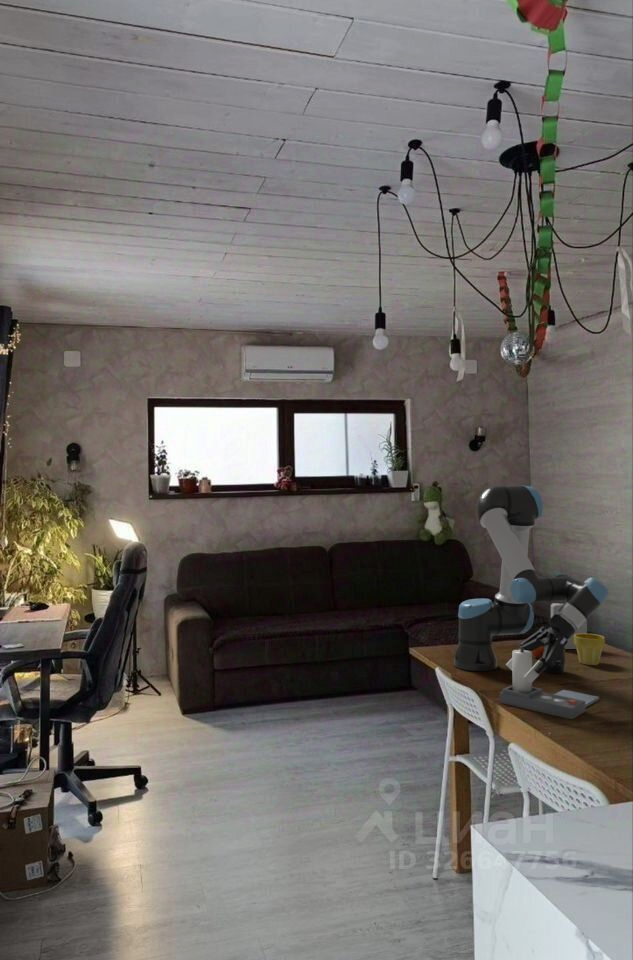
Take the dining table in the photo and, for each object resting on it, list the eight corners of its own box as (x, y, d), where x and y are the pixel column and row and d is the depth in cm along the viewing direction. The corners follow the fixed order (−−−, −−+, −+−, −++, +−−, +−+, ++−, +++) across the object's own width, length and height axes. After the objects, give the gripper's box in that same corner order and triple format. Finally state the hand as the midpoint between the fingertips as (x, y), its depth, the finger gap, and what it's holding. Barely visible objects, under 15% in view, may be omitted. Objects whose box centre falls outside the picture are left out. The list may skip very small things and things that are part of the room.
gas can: (590, 647, 279) (590, 584, 279) (593, 650, 274) (593, 586, 274) (550, 646, 281) (550, 583, 281) (553, 649, 276) (553, 585, 276)
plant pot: (597, 659, 260) (597, 632, 260) (609, 666, 250) (609, 639, 250) (569, 659, 260) (569, 633, 260) (581, 666, 249) (580, 639, 249)
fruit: (556, 658, 256) (544, 637, 258) (537, 666, 260) (525, 646, 262) (561, 653, 263) (549, 634, 265) (542, 662, 266) (531, 642, 269)
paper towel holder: (509, 692, 208) (508, 646, 208) (517, 688, 212) (517, 643, 212) (526, 696, 204) (526, 649, 204) (535, 692, 208) (535, 646, 208)
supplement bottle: (555, 675, 238) (554, 639, 238) (540, 670, 244) (539, 636, 244) (569, 672, 241) (569, 637, 241) (554, 668, 247) (554, 634, 247)
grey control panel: (499, 702, 208) (499, 689, 208) (513, 695, 215) (513, 682, 215) (572, 719, 193) (572, 704, 193) (585, 711, 200) (585, 697, 200)
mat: (547, 700, 210) (547, 697, 210) (563, 692, 218) (563, 689, 218) (584, 708, 203) (584, 705, 203) (599, 699, 211) (599, 696, 211)
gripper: (595, 639, 197) (544, 694, 195) (555, 622, 222) (510, 671, 220) (577, 621, 197) (526, 676, 195) (539, 606, 221) (493, 655, 220)
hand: (517, 673), depth 208 cm, fingers open, 13 cm apart
